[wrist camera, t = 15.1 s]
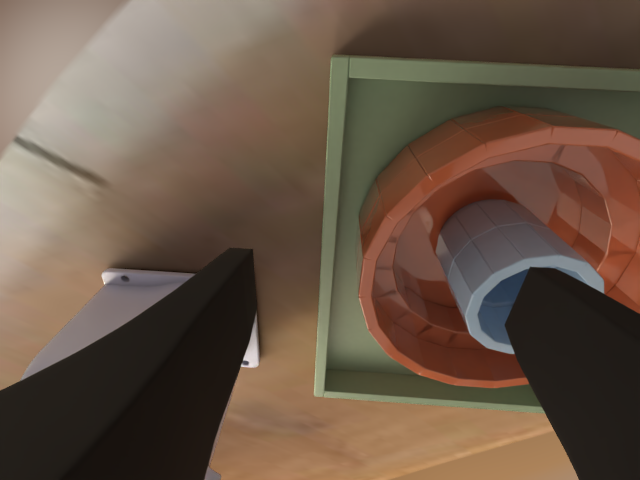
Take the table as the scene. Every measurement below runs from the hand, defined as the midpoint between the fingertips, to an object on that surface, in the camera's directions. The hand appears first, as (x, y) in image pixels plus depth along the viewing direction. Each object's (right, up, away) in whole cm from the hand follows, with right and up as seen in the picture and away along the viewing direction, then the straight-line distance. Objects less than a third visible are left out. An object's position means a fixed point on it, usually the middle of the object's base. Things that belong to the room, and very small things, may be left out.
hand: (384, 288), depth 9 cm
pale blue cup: (+7, +1, +9) cm, 11 cm away
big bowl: (+7, +2, +9) cm, 12 cm away
